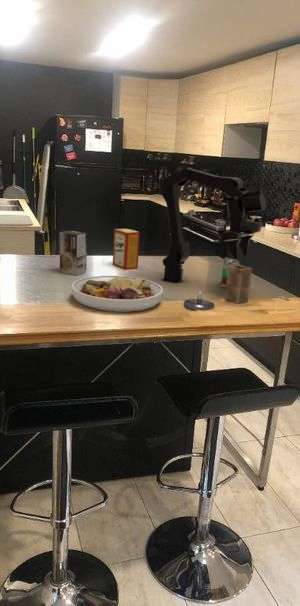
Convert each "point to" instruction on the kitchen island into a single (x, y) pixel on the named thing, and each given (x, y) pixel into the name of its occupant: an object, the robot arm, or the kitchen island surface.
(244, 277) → the collar
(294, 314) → the kitchen island surface
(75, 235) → the coffee box
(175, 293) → the kitchen island surface
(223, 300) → the cork pad
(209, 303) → the hub
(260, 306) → the kitchen island surface
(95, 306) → the bowl
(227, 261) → the food container
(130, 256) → the baking soda box
